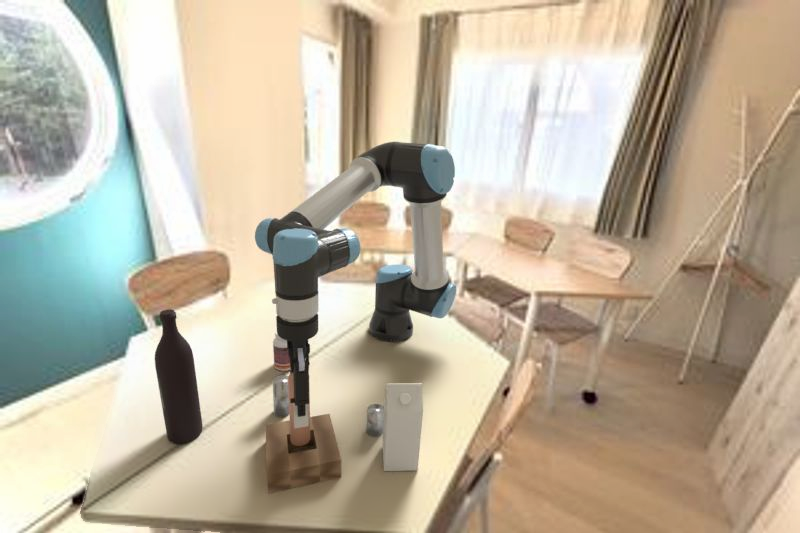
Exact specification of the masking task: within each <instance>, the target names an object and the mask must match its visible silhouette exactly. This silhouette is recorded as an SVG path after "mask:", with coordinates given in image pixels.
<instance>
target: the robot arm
mask: <svg viewBox="0 0 800 533" xmlns="http://www.w3.org/2000/svg"><path fill="white" fill-rule="evenodd" d="M454 161H455V160H454V157H453V156H452V152H450V150H448V148H446V147H445V146H441V145H435V144H432V143H418V142H417V143H415V142H414V143H413V142H405V141H404V142H401V141H389V142H384V143H381V144H379V145H378V144H377V146H374V147H371V148H370V149H368V150H366V151H364V152H363V153H361V154H359V155H358V156H357V157H355V158H354V159H353V160H352V161H351V162H350V165H349V167H348V168H347V169H346V170H344V171H343V172H342V173H340V174H339V175H338V176H336V177H335V178H333V179H332V180H331V181H330V182H328V183H327V184H326V185H324V186H323V187H322V188H320V189H319V190H318V191H317V192H315V193H314V194H313V195H311V196H310V197H308V198H307V199H306V200H304V201H303V202H301V204H299V205H298V206H297V207H295V208H294V209H292V210H291V211H290V212H288V213H287V214H286V215H284V216H283V217H281V218H280V219H278V218H277V217H273V218H270V217H268V218H265V219H263V220H261V221H260V222H259V223H258V224H257V226H256V229H255V232H254V240H255V244H256V245H257V248H258V249H259V250H261V251H262V252H265V253H267V254H269V255H272V262H273V274H274V276H273V277H274V289H275V290H274V291H275V292H274V294H275V298H272V299H271V303H272V304H273V305H275V312H276V314H277V315H276V316H275V318H276V319H275V320H276V321H275V322H276V330H277V334H278V336H279V337H280V338H282V339H284V340H287V348H288V354H289V358H290V369H291V370H289V373H290V374H291V373H293V380H294V398H291V399H290V402H291V403H293V407H294V428H300V427H306V426H308V404H309V402H310V403H311V401H310V400H309V389H310V372H309V371H310V364H311V363H310V353H311V346H310V343H309V340H310V339H312V338H314V337H316V335H317V334H318V332H319V314H318V312H319V278H320V277H322V276H325V275H328V274H329V273H332V272H336V271H337V270H340V269H342V268H346V267H347V266H349V265H350V264H352V263H355V261H357V259H358V258H359V256H360V254H361V242H360V239H359V236H358V235H357V234H356V233H355V232H354V231H353V230H352V229H349V228H334V229H333V230H327V229H326V228H327V227H328V226H329V225H331V224H332V223H333V222H334V221H336V220H337V219H338V218H339V217H340V216H341V215H343V214H344V213H345V212H346V211H347V210H348V209H349V208H351V207H352V206H353V205H354V204H356V203H357V202H358V201H359V200H360V199H361V198H362V197H364V196H365V195H366V194H367V193H369V192H371V193H372V192H375V191H377V190H378V189H380V188H381V187H385V186H386V187H388V186H390V187H395V188H400V189H401V188H402V193H403V195H402V196H403V199H404V200H405V201H406V202H407V203H408V204H409V211H410V221H411V222H410V223H411V237H412V246H413V247H412V249H413V261H414V262H413V263H414V271H413V268H412V267H411V265H410V266H409V265H406V264H389V265H386V266H382V267H381V268H379V269H378V270H377V272H376V277H375V298H374V301H375V302H374V311H373V314H372V316H371V319H370V321H369V325H368V332H369V334H370V336H372V337H373V338H375V339H378V340H381V341H384V342H401V341H405V340H407V339H409V338H410V337H412V335H413V333H414V323H413V320H412V316H411V313H410V311H412V312H415V313H418V314H422V315H425V316H428V317H429V318H436V319H443V318H445V317H446V316H447V315H448V314H449V312H450V310H451V309H452V306H453V305H454V301H455V298H456V296H457V294H456V293H457V286H456V284H455V283H453V282H450V276H449V273H448V272H447V271H446V270H445V268H444V245H443V242H444V241H443V240H444V238H443V216H442V201H443V200H444V199H445V198H446V197H447V194H448V193H449V192H450V191H451V189H452V188H453V187H454V182H455V181H454V178H455V176H456V173H455V171H456V167H455V162H454ZM290 374H289V375H290Z"/></svg>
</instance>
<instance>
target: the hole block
mask: <svg viewBox="0 0 800 533" xmlns="http://www.w3.org/2000/svg"><path fill="white" fill-rule="evenodd" d="M264 428H265V431H264V432H265V453H266V454H265V456H266V457H265V458H266V474H267V475H266V477H267V479H266V480H267V493H268V494H271V493H272V494H273V493H275V492H280V491H281V492H282V491H284V490H285V491H286V490H290V489H294V488H298V487H303V486H309V485H312V484H317V483H322V482H325V481H330V480H334V479H339V478H342V458H341V454H340V449H339V446H338V442H337V438H336V433H335V430H334V426H333V422H332V417H331V413H325V414H319V415H315V416H313V415H312V416H310V441H309V442H308V443H307V444H305V445H302V446H295V445H293V444H292V443H291V441H290V419H289V420H284V421H279V422H272V423H267V424H266V423H265V425H264ZM310 447H313V449H308V450H303V451H302V449H306V448H310ZM300 449H301V451H298V452H292V453H289V452H291V451H296V450H300Z"/></svg>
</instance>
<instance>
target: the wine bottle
mask: <svg viewBox="0 0 800 533" xmlns="http://www.w3.org/2000/svg"><path fill="white" fill-rule="evenodd" d="M158 316H159V321H160V322H161V326H162V334H161V337H160V339H159V342H158V344H157V346H156V348H155V352H154V364H155V373H156V378H157V384H158V390H159V396H160V401H161V407H162V414H163V420H164V426H165V431H166V432H165V433H166V438H167V439H168V441H169V442H170V443H172V444H175V445H183V444H184V445H185V444H187V443H190V442H192V441H194V440H195V439H197V438H198V437H199V436H200V435H201V433H202V432H203V428H204V426H203V420H202V419H203V418H202V412H201V404H200V396H199V395H200V394H199V389H198V388H199V387H198V381H197V373H196V372H197V371H196V367H195V359H194V358H195V357H194V354H193V350H192V348H191V344H190V343H189V342H188V341H187V340H186V338H185V337H184V336H183V335H182V334H181V333H180V332H179V330H178V329H179V328H178V326H177V312H176V311H175V310H174V309H171V308H169V309H168V308H167V309H164V310H162V311H160V314H158Z"/></svg>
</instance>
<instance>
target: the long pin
mask: <svg viewBox="0 0 800 533" xmlns="http://www.w3.org/2000/svg"><path fill="white" fill-rule="evenodd" d="M287 376H288V388H289V415H288V416H289V420H290V441H291V443H292V444H293V445H295V446H302V445H305V444H307V443H308V442H309V441H310V417H311V408H310V407H311V404H310V403H311V401H310V402H309V404H308V426H306V427H300V428H294V407H293V403H291V402H290V399H291V398H294V380H293V373H291V374H288V375H287ZM310 395H311V394H310V388H309V400H310V399H311V398H310Z"/></svg>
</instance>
